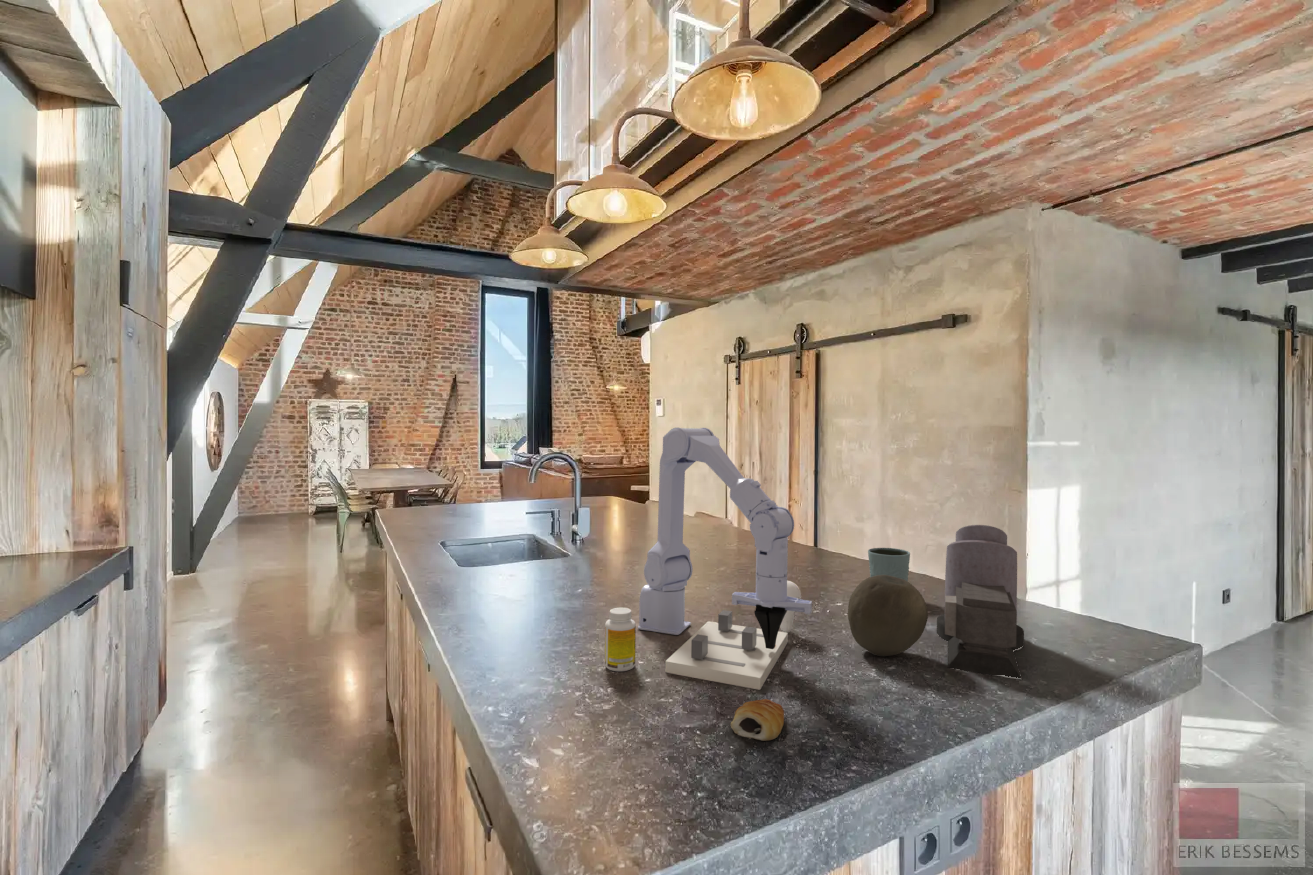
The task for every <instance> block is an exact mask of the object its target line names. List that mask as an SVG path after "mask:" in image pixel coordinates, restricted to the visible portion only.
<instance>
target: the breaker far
mask: <svg viewBox="0 0 1313 875" xmlns="http://www.w3.org/2000/svg"><path fill="white" fill-rule="evenodd" d="M717 617H718V622H717V623H718V630H721V631H729V630H730V628H731V627H732V625H733V611H732V610H725V609H722V610H721V611H720V612H719V613H718V616H717Z"/></svg>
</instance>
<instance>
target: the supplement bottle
mask: <svg viewBox="0 0 1313 875" xmlns="http://www.w3.org/2000/svg"><path fill="white" fill-rule="evenodd" d="M608 617H609V618H608V619H607V620H606V621H605V624H604V666H605V667H606V668H607V669H608V670H610V671H613V672H618V673H619V672H627V671H629V670H632V669H634V667H635V665H636V629H637V628H636V627H637V626H636V621H635V620H634V619H632V617H633V616H632V609H630V608H628V607H614V608H611V609H610V610H609V616H608Z"/></svg>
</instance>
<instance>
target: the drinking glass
mask: <svg viewBox="0 0 1313 875" xmlns="http://www.w3.org/2000/svg"><path fill="white" fill-rule="evenodd" d="M867 555H868V557H867V558H868V563H869V564H868V565H869V566H868V567H869V574H870V575H869V577H873V576H876V575H889V576H894V577H897V578H901V579H904V580H906V581H907V582H909V570H910V567H909V566H910V562H911V561H910V560H911V559H910V558H911V553H910V551H909V550H905V549H901V548H894V547H873V548H869V549H868V550H867Z"/></svg>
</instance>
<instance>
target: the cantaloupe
mask: <svg viewBox="0 0 1313 875" xmlns="http://www.w3.org/2000/svg"><path fill="white" fill-rule="evenodd" d="M849 597H850V598H849V600H848V607H847V620H848V623H849V624H848V625H849V629H850V633H851V636H852V637H853V639H854V640H855V641H856V643H857V644H858V645H859V646H860V647H862V648H863V649H865V650H866V651H867V652H869V653H870V654H872V655H875V656H878V657H890V656H891V657H892V656H895V655H899V654H901V653H903V652H905V651H907V650H908V649H910V648H911V647H912V646H913V645H914V644H916V643H917V642H918V640H919V639H920V638H921V637H922V635H923V633H924V631H925V628H926V626H927V623H928V617H929V612H928V606H927V604H926V601H925V599H924V597H923V595H922V594H921V592H920V591H919V590H918V588H917V587H915V586H914V585H913V584H912V583H911V582H909V581H908V582H907V581H906V580H904V579H901V578H897V577H894V576H889V575H876V576H873V577H870V576H869V577H866V579H864V580H862V581H861V582H859V584H857V586H856V587H855V589H853V592H851V595H850V596H849Z"/></svg>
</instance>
